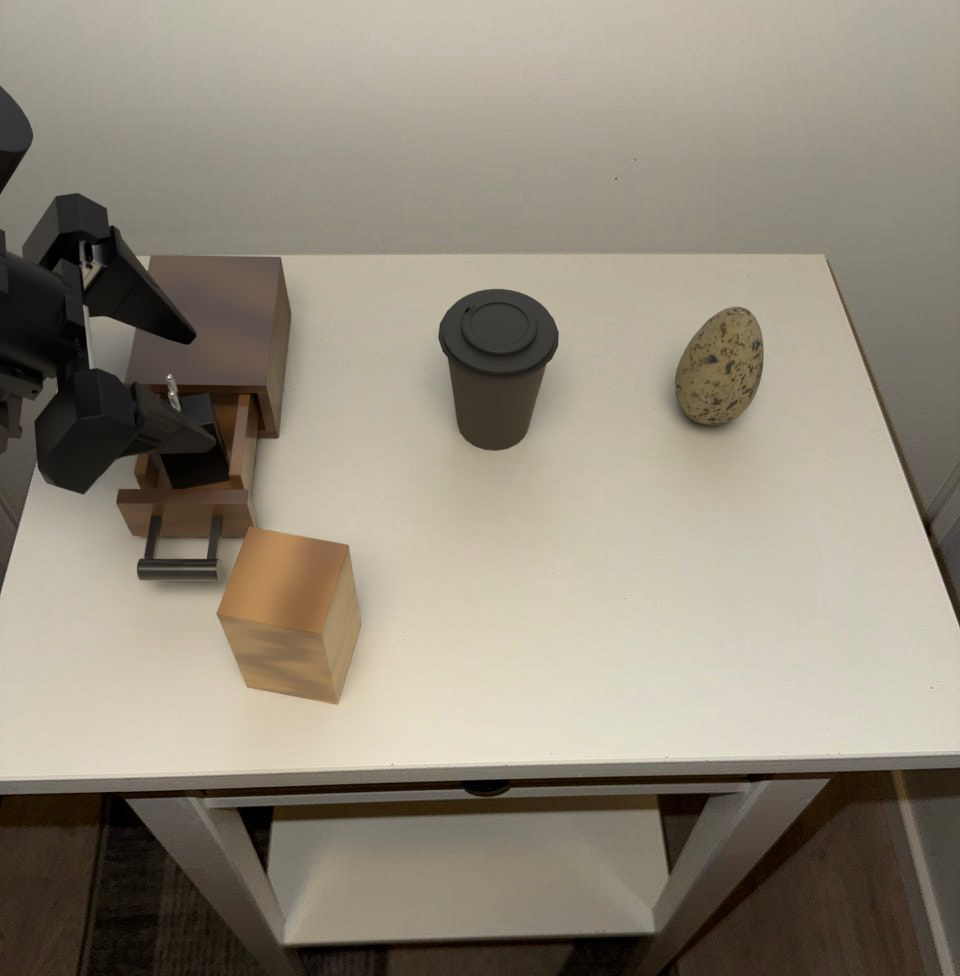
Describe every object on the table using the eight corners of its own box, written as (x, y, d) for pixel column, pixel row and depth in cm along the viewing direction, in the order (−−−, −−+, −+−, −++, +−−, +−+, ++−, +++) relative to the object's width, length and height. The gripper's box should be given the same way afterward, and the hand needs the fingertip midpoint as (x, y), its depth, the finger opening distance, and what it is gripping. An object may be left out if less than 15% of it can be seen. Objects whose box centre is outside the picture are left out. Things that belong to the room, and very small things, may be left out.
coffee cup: (435, 383, 75) (433, 279, 66) (540, 378, 76) (552, 274, 67) (442, 468, 71) (442, 370, 62) (553, 462, 72) (568, 364, 63)
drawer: (250, 596, 65) (239, 565, 61) (121, 596, 64) (103, 565, 61) (271, 406, 72) (262, 370, 69) (155, 405, 72) (141, 368, 69)
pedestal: (246, 687, 63) (215, 613, 54) (273, 607, 65) (248, 525, 57) (338, 705, 62) (321, 633, 54) (361, 623, 65) (349, 544, 57)
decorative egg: (659, 385, 76) (687, 282, 67) (734, 381, 76) (772, 278, 67) (674, 446, 73) (705, 347, 64) (752, 441, 73) (794, 343, 64)
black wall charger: (173, 491, 67) (138, 405, 59) (169, 461, 68) (134, 373, 61) (232, 480, 68) (205, 393, 60) (227, 451, 69) (199, 362, 61)
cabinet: (278, 438, 72) (266, 385, 67) (146, 437, 72) (124, 384, 67) (291, 313, 78) (281, 256, 73) (169, 312, 78) (150, 254, 73)
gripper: (-114, 264, 60) (123, 363, 71) (-119, 508, 51) (151, 576, 63) (-35, 126, 54) (209, 258, 65) (-27, 375, 46) (252, 477, 57)
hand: (202, 390), depth 63 cm, fingers open, 9 cm apart
